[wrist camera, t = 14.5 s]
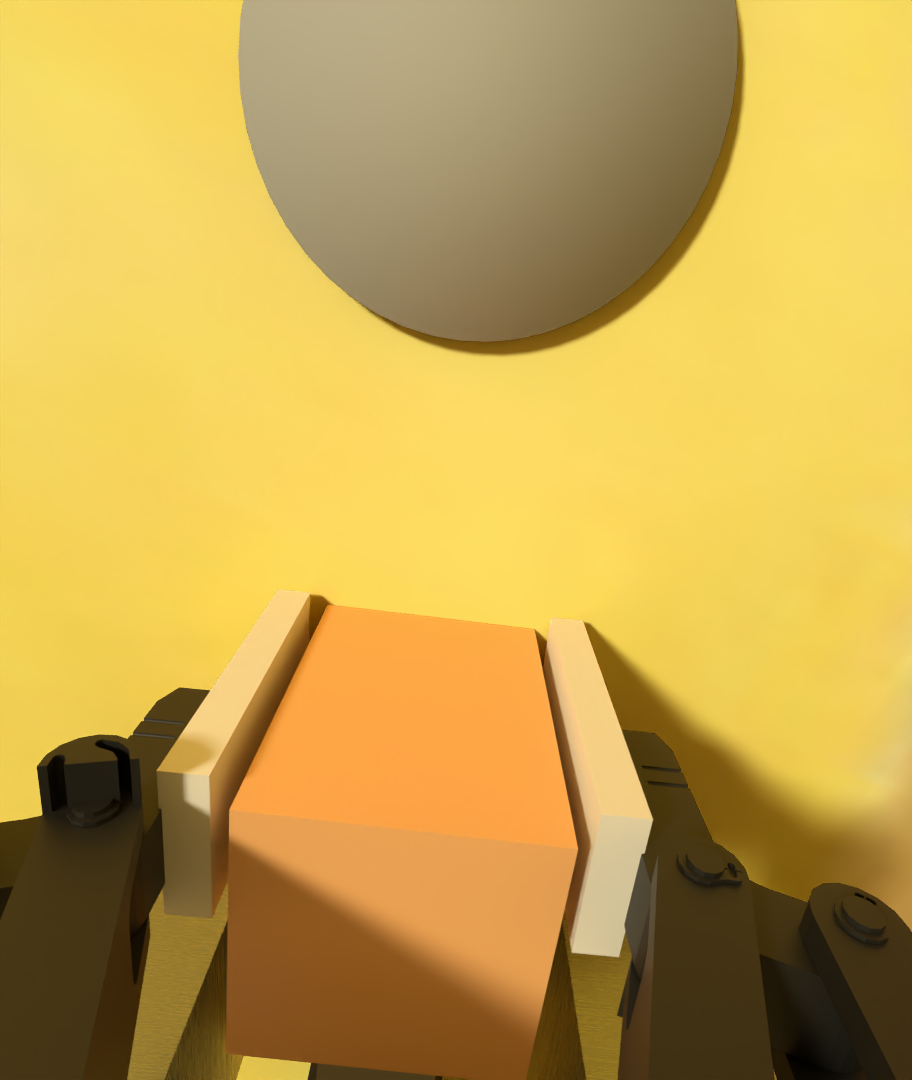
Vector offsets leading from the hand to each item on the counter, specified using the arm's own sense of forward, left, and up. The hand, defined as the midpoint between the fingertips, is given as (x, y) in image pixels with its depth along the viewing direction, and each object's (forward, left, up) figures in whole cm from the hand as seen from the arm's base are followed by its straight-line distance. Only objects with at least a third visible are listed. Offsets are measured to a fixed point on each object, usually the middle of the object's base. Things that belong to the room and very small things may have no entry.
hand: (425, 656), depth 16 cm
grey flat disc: (0, +12, 0) cm, 12 cm away
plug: (0, -8, 0) cm, 8 cm away
